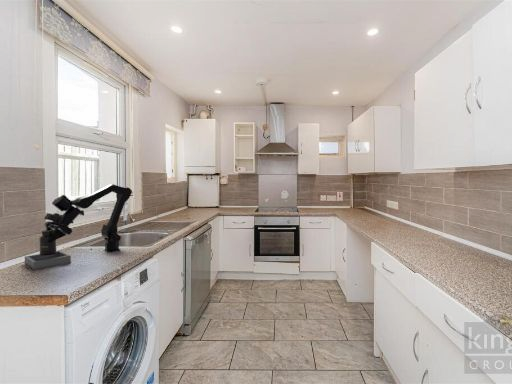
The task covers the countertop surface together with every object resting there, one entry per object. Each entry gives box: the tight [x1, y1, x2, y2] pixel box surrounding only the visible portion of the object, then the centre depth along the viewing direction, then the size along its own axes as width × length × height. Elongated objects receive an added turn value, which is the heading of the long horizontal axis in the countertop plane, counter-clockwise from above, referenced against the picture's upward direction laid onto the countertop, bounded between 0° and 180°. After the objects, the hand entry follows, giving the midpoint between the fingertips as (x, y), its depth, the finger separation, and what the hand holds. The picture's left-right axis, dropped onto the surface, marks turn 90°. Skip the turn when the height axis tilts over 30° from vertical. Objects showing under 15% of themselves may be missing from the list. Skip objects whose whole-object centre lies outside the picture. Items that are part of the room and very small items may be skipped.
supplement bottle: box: [38, 229, 58, 256], centre depth 139 cm, size 7×7×12 cm
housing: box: [24, 250, 72, 271], centre depth 139 cm, size 15×15×4 cm
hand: (44, 241), depth 138 cm, fingers closed on supplement bottle, 7 cm apart
